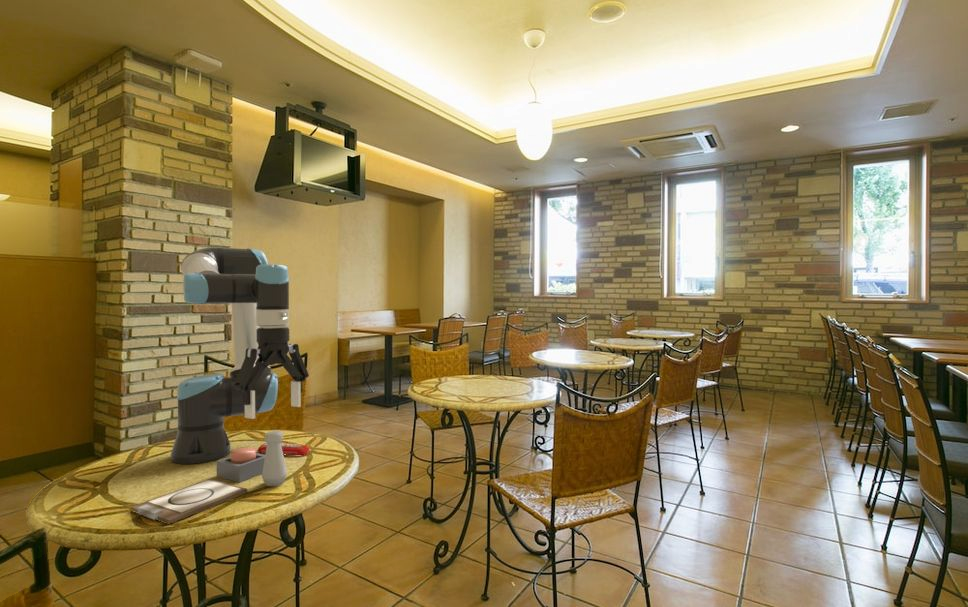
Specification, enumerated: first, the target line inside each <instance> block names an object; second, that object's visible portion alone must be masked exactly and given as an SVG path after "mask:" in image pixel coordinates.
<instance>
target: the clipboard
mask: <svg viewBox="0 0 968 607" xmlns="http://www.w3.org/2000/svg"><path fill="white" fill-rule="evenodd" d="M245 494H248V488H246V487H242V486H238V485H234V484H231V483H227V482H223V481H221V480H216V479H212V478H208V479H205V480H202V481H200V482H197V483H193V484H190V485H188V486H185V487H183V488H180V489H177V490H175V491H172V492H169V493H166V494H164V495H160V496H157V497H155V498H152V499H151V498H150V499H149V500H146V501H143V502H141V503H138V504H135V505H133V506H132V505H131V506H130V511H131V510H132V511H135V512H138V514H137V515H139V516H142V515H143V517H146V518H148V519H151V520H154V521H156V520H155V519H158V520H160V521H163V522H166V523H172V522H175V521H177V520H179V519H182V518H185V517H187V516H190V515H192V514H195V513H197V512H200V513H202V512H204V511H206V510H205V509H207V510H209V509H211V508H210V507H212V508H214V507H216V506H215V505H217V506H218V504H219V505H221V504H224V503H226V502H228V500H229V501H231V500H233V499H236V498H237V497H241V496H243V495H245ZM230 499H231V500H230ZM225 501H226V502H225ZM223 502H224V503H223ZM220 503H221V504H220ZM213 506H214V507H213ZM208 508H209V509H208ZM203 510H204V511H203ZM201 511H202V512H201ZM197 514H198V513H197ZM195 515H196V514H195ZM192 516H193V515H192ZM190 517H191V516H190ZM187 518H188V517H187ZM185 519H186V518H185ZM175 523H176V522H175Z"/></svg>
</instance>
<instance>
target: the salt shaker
mask: <svg viewBox="0 0 968 607" xmlns="http://www.w3.org/2000/svg"><path fill="white" fill-rule="evenodd" d="M283 440H284V432H283V431H281V430H271V431H268V432H266V433H265V435H264V443H267V448H266V454H264V455H265V460H264V466H263V472H262V474H261V479H262V481H263V482H264V485H265V486H267V487H270V486H271V487H278V486H280V485H282V484H284V483H285V480H286V477H287V474H288V470H287V464H286V461H285V455H283V451H282V446H281V442H282V441H283Z"/></svg>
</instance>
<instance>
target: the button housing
mask: <svg viewBox="0 0 968 607" xmlns="http://www.w3.org/2000/svg"><path fill="white" fill-rule="evenodd" d="M264 460H265V454H260V453H259V452H258V453H257V452H256V459H254V460H251V461H249V462H246V463H243V464H237V463H233V462H231V456H228V457H223V458H222V459H221V458H220V459H217V460H216V477H217V476H218V477H219V478H221V477H222V479H226V480H229V481H230V480H231V481H233V482H238V483H242V482H244V481H247V480H249V479H252V478H255V477H257V476H260V475H262V472H263V466H264ZM259 474H260V475H259Z"/></svg>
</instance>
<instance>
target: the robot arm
mask: <svg viewBox="0 0 968 607" xmlns="http://www.w3.org/2000/svg"><path fill="white" fill-rule="evenodd" d="M180 264H181V265H180V270H181V273H182V274H181V275H182V276H183V279H182V280H183V283H182V284H183V288H182V289H183V300H184V302H186V304H198V305H204V304H231V316H232V318H231V319H232V332H233V334H232V335H233V338H232V339H233V351H234V352H233V353H234V367H233V368H232V369H231V370H230V371H229V377H224V375H223V373H219V372H216V373H207V374H201V375H197V376H192V377H190V378H186V379H184V380H182V381H181V382H179V384H178V385H177V396H176V401H177V433H176V436H175V440H174V443H173V446H172V449H171V452H170V461H171V462H172V463H175V464H182V465H185V464H186V465H188V464H189V465H190V464H200V463H206V462H210V461H215V460H220V459H221V458H222V459H223V458H225V457H226V456H228V455H229V454H231V451H232V450H231V448H232V447H231V442H230V439H229V437H228V434H227V432H226V429H225V425H224V424H225V423H224V418H228V417H233V416H234V417H236V416H243V415H244V418H245V419H252V420H254V419H256V415H257V414H259V413H264V412H270V411H271V410H273V408H274V407H275V404H276V401H277V397H278V390H279V389H278V387H279V378H278V375H277V373H274V372H272V368H271V366H273V365H281V366H282V367H283V369H285V371H286V372H287V374H289V376H290V377H291V378H292V381H290V405H291V407H296V408H301V406H302V404H301V403H302V401H301V400H302V399H301V398H302V395H301V394H302V393H303V382H305V381H306V378H309V377H310V375H309V371H308V370H307V367H306V365H305V362H304V360H303V357H302V356H301V353H300V347H299V346H300V345H299V344H298V343H289V342H290V328H289V327H288V326H289V325H290V300H289V299H290V298H289V297H290V285H289V284H290V276H289V268H288V267H287V266H286V265H283V264H273V263H272V264H269V262H268V259H267V256H266V253H264V252H263V251H262V250H260V249H254V248H253V249H252V248H235V247H233V248H231V247H230V248H229V247H204V248H200V249H197V250H194V251H192V252H190V253H189V254H187V255H186V256H185V257H184V258H183V260H182V262H181V263H180ZM288 354H289V356H288Z"/></svg>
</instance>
